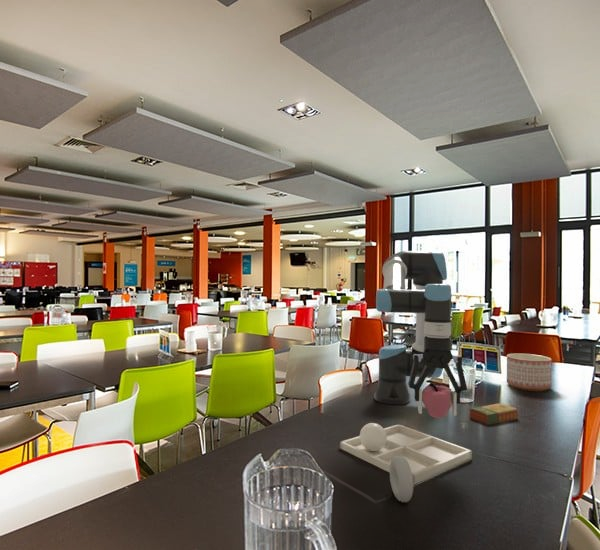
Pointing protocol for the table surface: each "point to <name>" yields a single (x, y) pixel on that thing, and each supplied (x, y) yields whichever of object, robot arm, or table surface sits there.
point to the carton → (493, 413)
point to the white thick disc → (401, 478)
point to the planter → (529, 372)
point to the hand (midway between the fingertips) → (436, 413)
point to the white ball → (373, 437)
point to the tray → (411, 452)
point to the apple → (437, 400)
